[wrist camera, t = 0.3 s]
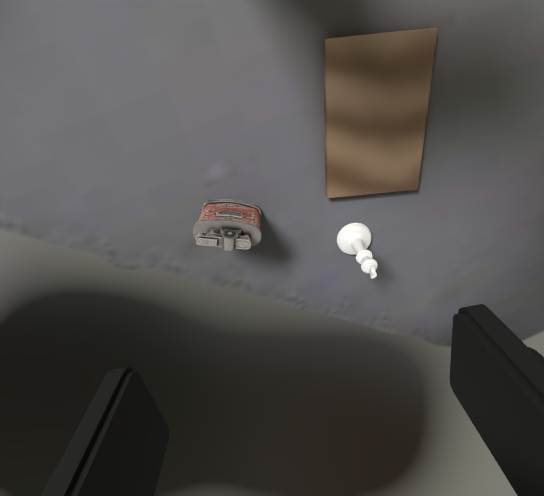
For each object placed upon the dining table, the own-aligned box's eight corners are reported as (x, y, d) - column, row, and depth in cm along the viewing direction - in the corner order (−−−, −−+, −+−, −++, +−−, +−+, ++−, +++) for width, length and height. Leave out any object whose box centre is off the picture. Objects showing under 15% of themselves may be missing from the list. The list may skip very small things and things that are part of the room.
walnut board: (323, 39, 36) (325, 38, 35) (432, 28, 36) (437, 26, 35) (325, 195, 44) (327, 198, 43) (414, 186, 44) (417, 189, 43)
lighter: (262, 202, 45) (262, 233, 36) (260, 224, 46) (259, 260, 37) (203, 196, 44) (188, 227, 35) (202, 219, 46) (188, 254, 37)
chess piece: (338, 255, 49) (355, 295, 40) (335, 225, 47) (352, 261, 38) (370, 249, 49) (395, 288, 40) (370, 220, 46) (395, 254, 38)
